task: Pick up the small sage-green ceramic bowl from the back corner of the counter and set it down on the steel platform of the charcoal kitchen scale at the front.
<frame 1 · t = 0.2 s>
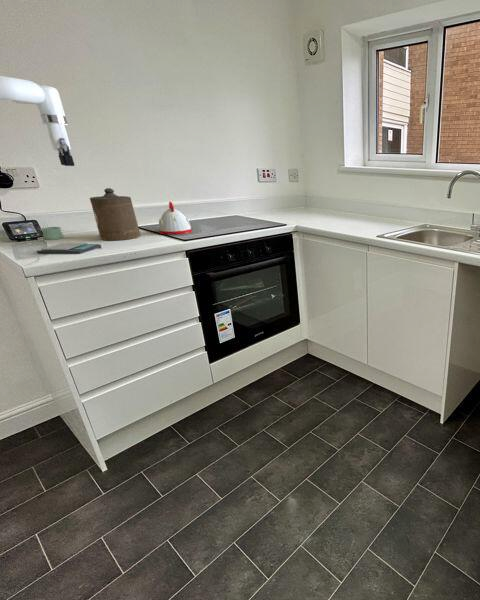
hand: (68, 165, 149), 31 cm above the countertop, tool pointing down, fingers open, 9 cm apart
white dome: (176, 232, 179), on the countertop
scale: (72, 253, 135), on the countertop
wooden container: (121, 237, 163), on the countertop
bowl: (54, 238, 157), on the countertop
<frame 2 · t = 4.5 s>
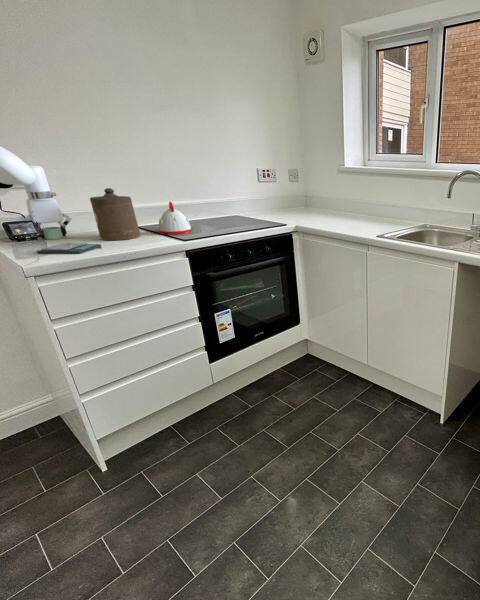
hand: (53, 236, 157), 1 cm above the countertop, tool pointing down, fingers closed on bowl, 6 cm apart
bowl: (54, 238, 157), on the countertop, touching gripper
everything else where it was.
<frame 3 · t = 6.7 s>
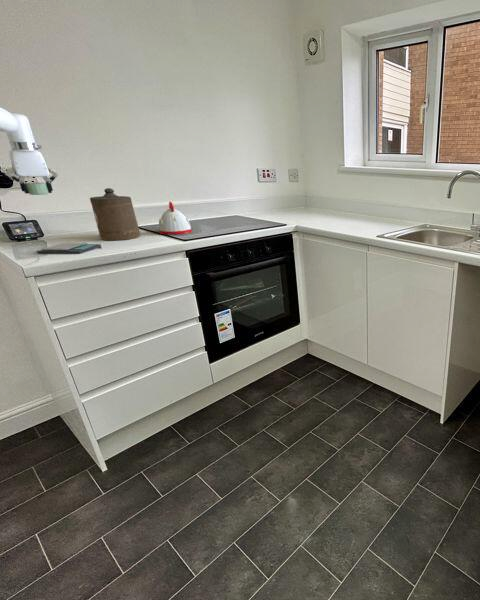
hand: (38, 192, 149), 20 cm above the countertop, tool pointing down, fingers closed on bowl, 6 cm apart
bowl: (38, 194, 149), point 19 cm above the countertop, touching gripper
everything else where it was.
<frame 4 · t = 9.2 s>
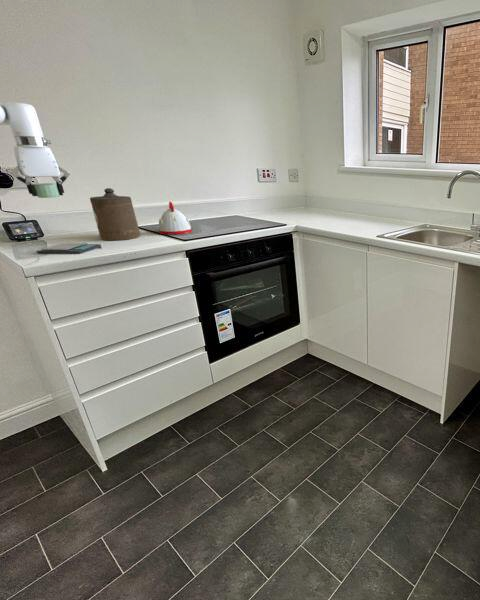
hand: (47, 195, 129), 21 cm above the countertop, tool pointing down, fingers closed on bowl, 6 cm apart
bowl: (48, 197, 129), point 21 cm above the countertop, touching gripper
everything else where it was.
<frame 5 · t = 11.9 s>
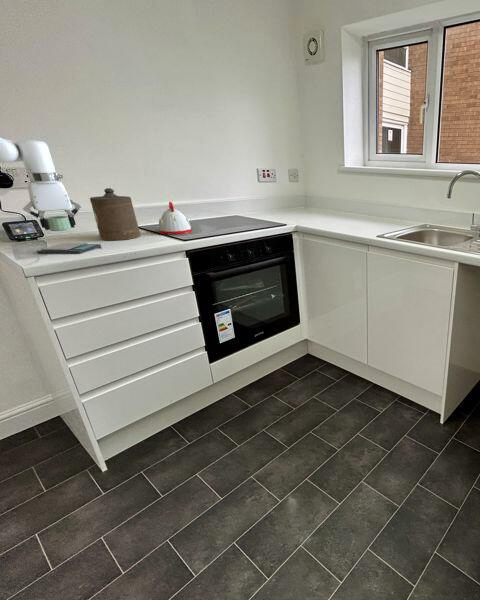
hand: (60, 228, 131), 10 cm above the countertop, tool pointing down, fingers closed on bowl, 6 cm apart
bowl: (60, 229, 131), point 9 cm above the countertop, touching gripper
everything else where it was.
when the fingers open (4 cm above the countertop, at t = 13.9 s): bowl stays where it is, resting on scale.
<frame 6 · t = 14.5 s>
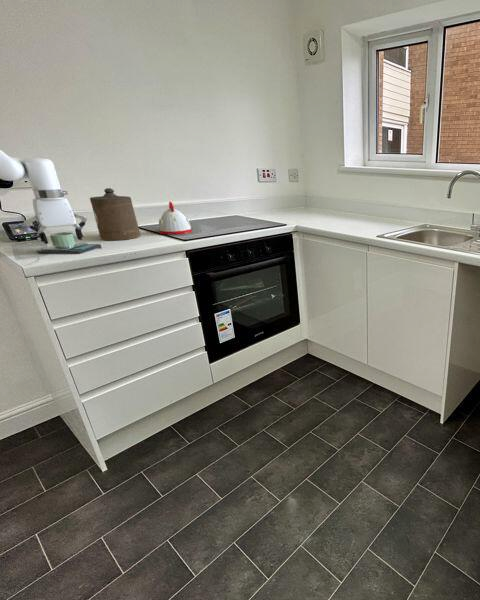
hand: (63, 241, 133), 5 cm above the countertop, tool pointing down, fingers open, 9 cm apart
bowl: (65, 245, 134), point 3 cm above the countertop, touching scale
everything else where it was.
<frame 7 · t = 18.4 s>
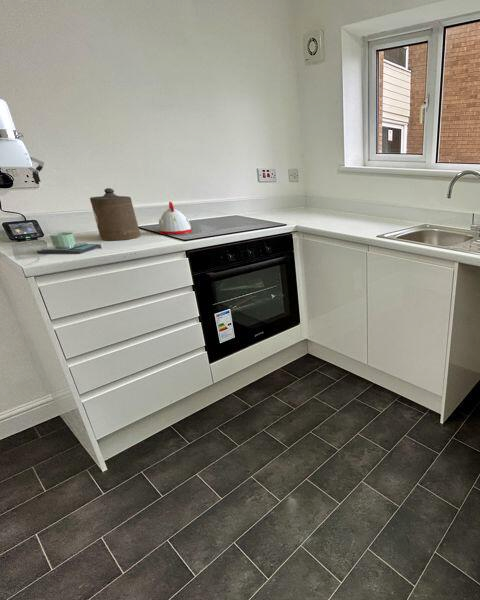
hand: (20, 184, 135), 24 cm above the countertop, tool pointing down, fingers open, 9 cm apart
nothing on the countertop moved.
at the end: bowl inside the target area on the scale (0.0 cm from its centre), point 3.0 cm above the scale's base; bowl tilted 0°; the gripper is holding nothing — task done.
